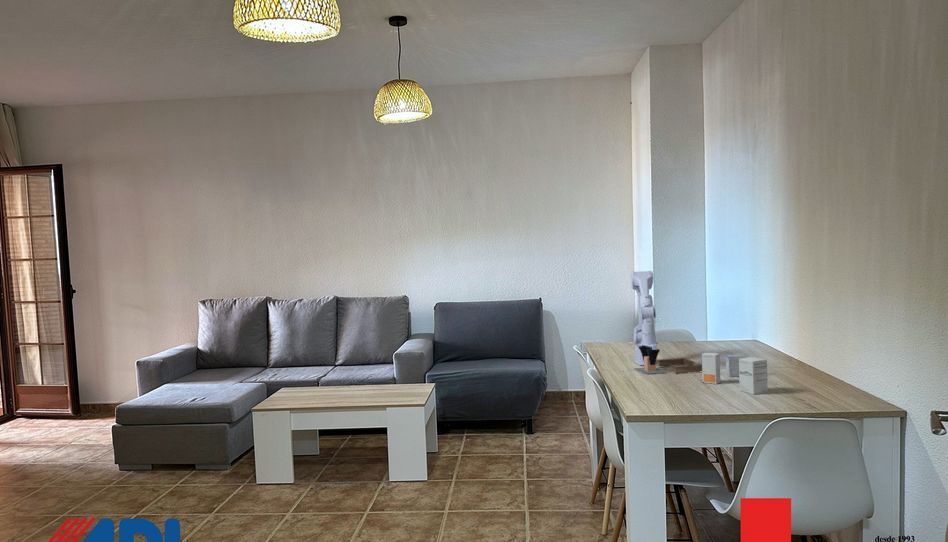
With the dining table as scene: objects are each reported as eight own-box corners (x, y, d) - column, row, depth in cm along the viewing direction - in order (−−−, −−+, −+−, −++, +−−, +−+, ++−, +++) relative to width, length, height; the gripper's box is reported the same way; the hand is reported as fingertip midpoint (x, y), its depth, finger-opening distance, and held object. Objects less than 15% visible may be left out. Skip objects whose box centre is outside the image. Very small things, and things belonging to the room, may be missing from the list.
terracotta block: (644, 369, 315) (643, 356, 314) (652, 369, 315) (652, 355, 315) (647, 371, 311) (647, 357, 311) (656, 370, 311) (655, 357, 311)
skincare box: (702, 382, 285) (701, 353, 284) (706, 381, 288) (705, 352, 287) (716, 384, 281) (715, 354, 280) (721, 382, 284) (720, 353, 283)
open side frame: (658, 366, 323) (658, 360, 323) (685, 364, 325) (684, 358, 325) (675, 373, 305) (675, 367, 305) (703, 371, 306) (703, 365, 306)
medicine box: (745, 374, 297) (744, 354, 297) (748, 376, 293) (747, 356, 292) (726, 375, 298) (725, 355, 297) (729, 377, 293) (728, 356, 293)
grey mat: (633, 369, 319) (633, 368, 319) (654, 368, 320) (654, 366, 320) (644, 374, 306) (644, 373, 306) (666, 373, 307) (666, 372, 307)
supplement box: (738, 391, 267) (738, 358, 267) (753, 388, 270) (752, 356, 270) (753, 394, 260) (752, 361, 260) (768, 392, 263) (767, 359, 263)
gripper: (663, 334, 306) (664, 365, 306) (650, 330, 320) (651, 360, 321) (648, 335, 305) (649, 366, 305) (636, 331, 319) (637, 361, 320)
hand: (649, 363), depth 313 cm, fingers open, 7 cm apart
